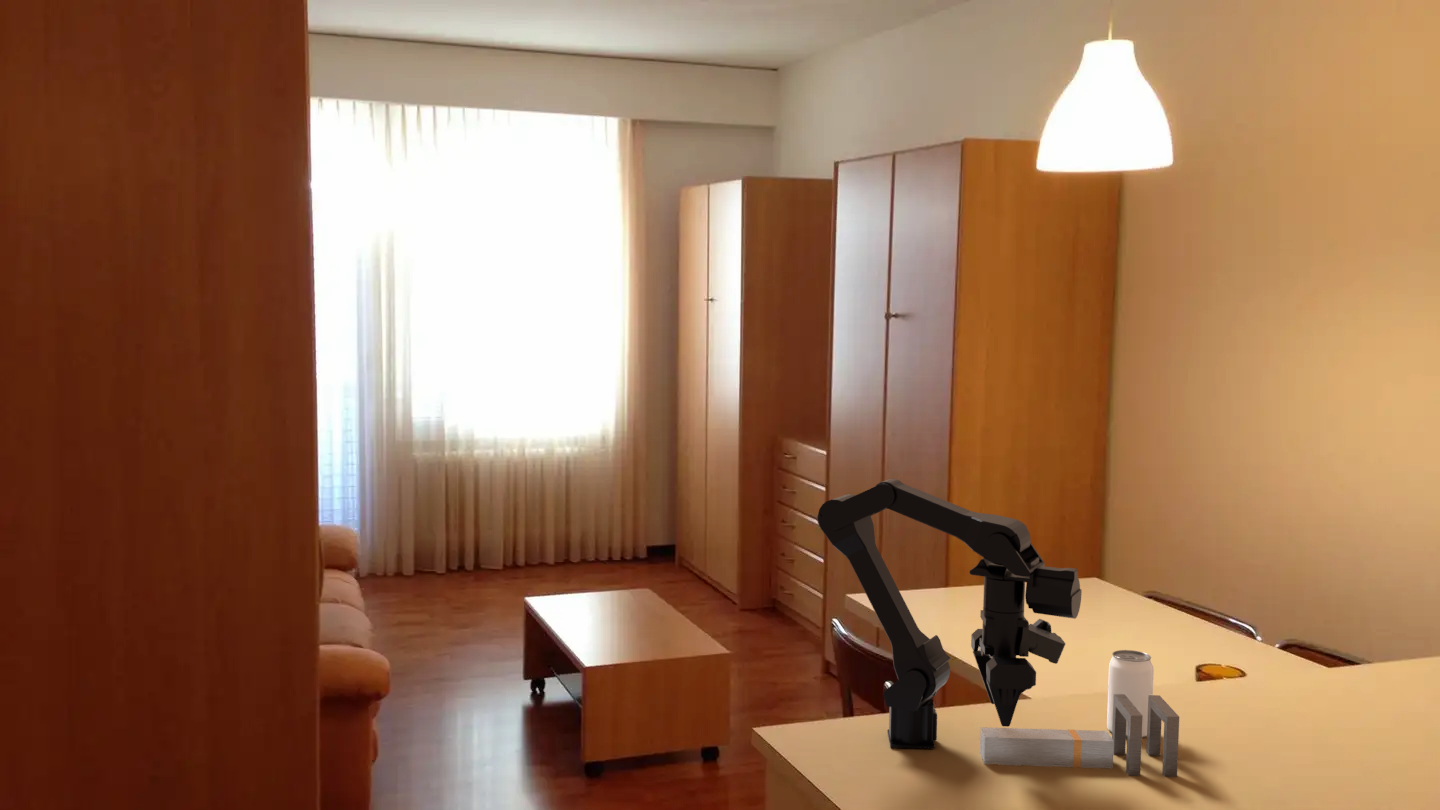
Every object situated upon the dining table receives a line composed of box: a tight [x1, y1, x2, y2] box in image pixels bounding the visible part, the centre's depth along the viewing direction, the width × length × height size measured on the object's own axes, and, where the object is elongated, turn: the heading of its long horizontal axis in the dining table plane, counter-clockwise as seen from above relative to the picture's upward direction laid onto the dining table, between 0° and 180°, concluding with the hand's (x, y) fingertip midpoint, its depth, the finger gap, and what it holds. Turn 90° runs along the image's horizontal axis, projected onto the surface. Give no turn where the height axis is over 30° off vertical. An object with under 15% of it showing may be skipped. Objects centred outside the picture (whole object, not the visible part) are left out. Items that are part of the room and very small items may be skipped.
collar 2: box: [1145, 694, 1180, 778], centre depth 169 cm, size 2×9×9 cm, turn 176°
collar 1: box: [1111, 694, 1143, 777], centre depth 169 cm, size 2×9×9 cm, turn 176°
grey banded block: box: [979, 726, 1114, 769], centre depth 170 cm, size 18×4×4 cm, turn 86°
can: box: [1106, 649, 1154, 739], centre depth 182 cm, size 6×6×12 cm
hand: (1000, 714), depth 170 cm, fingers open, 9 cm apart
